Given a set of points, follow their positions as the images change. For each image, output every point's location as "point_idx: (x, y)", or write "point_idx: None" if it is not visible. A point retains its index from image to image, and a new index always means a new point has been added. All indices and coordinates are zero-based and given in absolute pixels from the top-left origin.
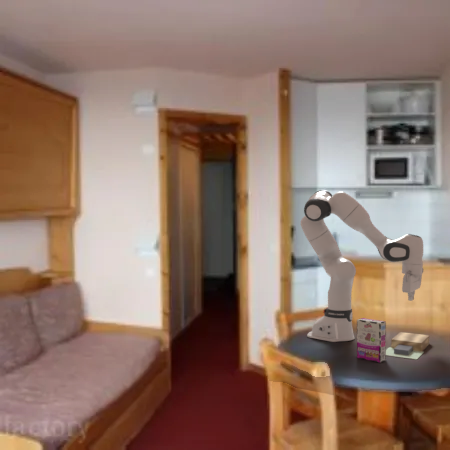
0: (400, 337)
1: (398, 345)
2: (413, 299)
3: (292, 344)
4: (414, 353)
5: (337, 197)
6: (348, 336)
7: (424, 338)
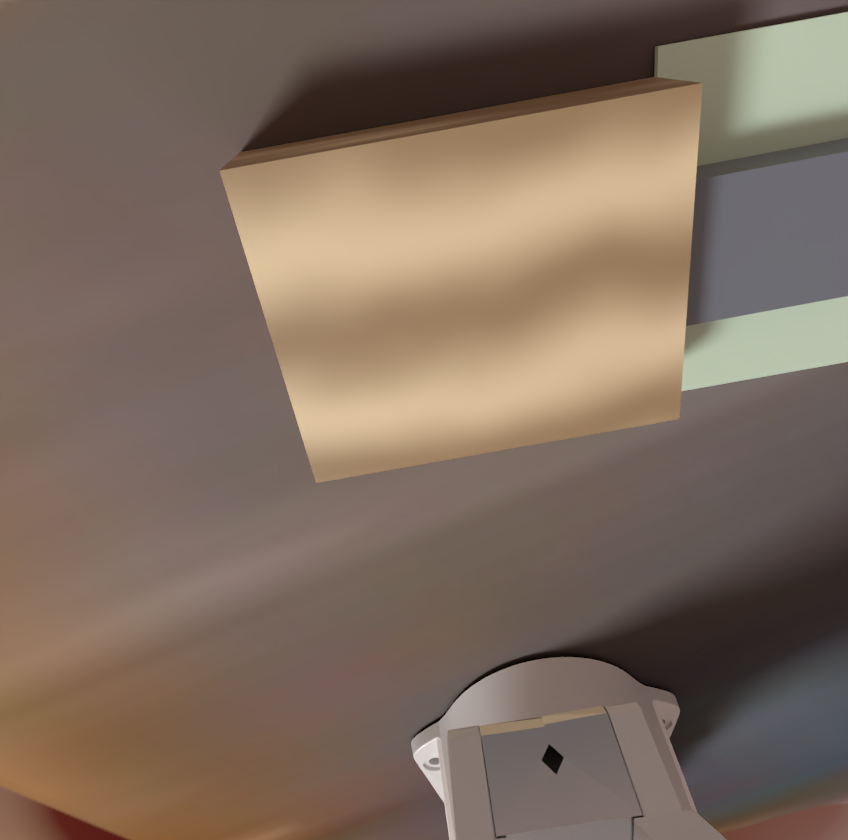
0: (552, 387)
1: (726, 312)
2: (469, 732)
3: (819, 777)
4: (776, 108)
5: None
6: (599, 688)
7: (436, 152)
